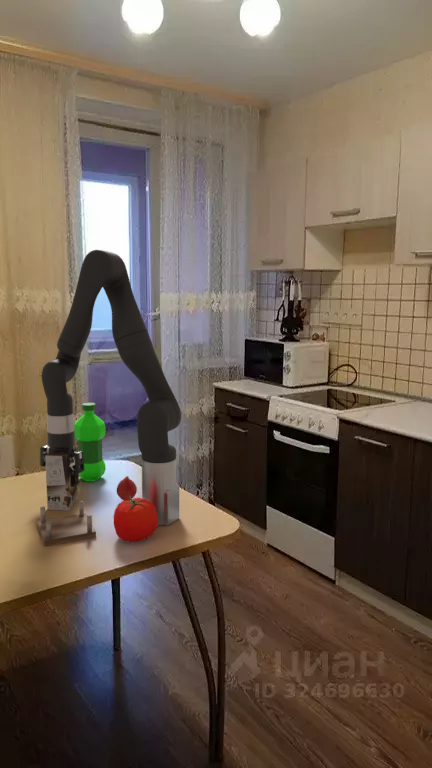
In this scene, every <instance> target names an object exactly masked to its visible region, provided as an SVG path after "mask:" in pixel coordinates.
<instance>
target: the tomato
mask: <svg viewBox="0 0 432 768" xmlns="http://www.w3.org/2000/svg"><path fill="white" fill-rule="evenodd" d="M129 497H130V496H129ZM113 512H114V513H113V526H114V530H115V533H116V535H117V537H118V538H119V539H120V540H122V542H127V543H138V542H143V541H145V540H148V539H149V538H150V537H152V536H153V534H154V533H155V532H156V530H157V528H158V526H159V525H158V516H157V513H156V508H155V506H154V505H153V504H152V503H151V502H149V501H148V500H146V499H142V498H141V497H133V498H131V497H130V500H128V501H124V500H121V502H119V503H118V505H117V506H116V508H115V509H114V511H113Z"/></svg>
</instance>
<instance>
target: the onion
mask: <svg viewBox="0 0 432 768" xmlns="http://www.w3.org/2000/svg"><path fill="white" fill-rule="evenodd" d="M137 491H138V487H137V485H136V483H135V482H134V481H133V480H132V479H130V478H129V476H128V475H127V476H125V477H124V478H123V479H121V480H120V481H119V483H118V484H117V487H116V494H117V496H118V498H119V499H121V501H128V500H130V497H131V498H132V499H133V498H135V496H136V494H137ZM129 496H130V497H129Z"/></svg>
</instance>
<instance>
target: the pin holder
mask: <svg viewBox="0 0 432 768" xmlns="http://www.w3.org/2000/svg"><path fill="white" fill-rule="evenodd" d="M84 507H85V506H84V501H83V500H79V501H78V512H79V513H78V514H73V515H66V516H65V515H64V516H60V517H52V518H46V506H41V507H40V520H37V528H38V531H39V533H40V536H41V539H42V542H43V545H44V547H46V546H47V547H48V546H52V545H59V544H65V543H66V544H67V543H70V542H76V541H82V540H83V541H84V540H87V539H94V538H97V531H96V529H95V527H94V526H93V517H92V516H93V515H92V514H86V513H85V509H84Z"/></svg>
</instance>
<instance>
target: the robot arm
mask: <svg viewBox="0 0 432 768" xmlns="http://www.w3.org/2000/svg"><path fill="white" fill-rule="evenodd" d="M78 275H79V276H78V281H77V284H76V288H75V292H74V296H73V300H72V303H71V307H70V310H69V312H68V316H67V319H66V321H65V323H64V325H63V328H62V330H61V332H60V334H59V338H58V339H57V344H56V347H57V350H58V352H57V355H56V357H55V359H53V360H50V361H48V362H46V363H45V364H44V365H43V367H42V370H41V382H42V386H43V391H44V394H45V398H46V409H47V410H46V413H47V417H46V433H47V434H46V435H47V438H46V439H47V444H46V445H43V446H40V448H39V449H40V455H39V457H40V459H39V461H40V462H39V463H40V467H44V469H45V470H46V456H45V455H47V454H48V453H49V452H51V451H55V452H64V453H68V454H69V455H70V458H71V457H72V458H73V463H71V464H70V466H69V467H70V473H71V487H75V486H77V485H79V482H80V477H79V473H81V472H83V471H84V470H85V468H84V455H83V451H80V452H78V451H77V452H75V451H74V448H73V447H75V443H76V438H75V428H74V424H75V418H74V401H73V396H72V394H71V393H69V392H68V388H67V383H68V382H70V381H72V380H73V378H75V376H76V373H77V371H78V368H79V365H80V364H79V363H80V361H81V354H82V352H83V350H84V347H85V345H86V343H87V341H88V338H89V336H90V334H91V330H92V325H93V315H94V309H95V304H96V300H97V298H98V296H99V294H100V292H101V290H102V288H103V290H104V292H105V294H106V297H107V300H108V302H109V305H110V310H111V331H112V332H111V334H112V338H113V341H114V344H115V347H116V350H117V352H118V355H119V357H120V359H121V361H122V362H123V364H124V365H125V366H126V368H128V370H129V371H130V372H131V373H132V374H133V375H134V376H135V377H136V378H137V379H138V381H139V382H140V383H141V385H142V387H143V389H144V391H145V393H146V396H147V398H148V401H147V402H144V403H143V404H142V405H141V406H140V407H139V409H138V412H137V416H136V421H137V422H136V427H137V428H136V429H137V442H138V443H137V445H138V448H139V451H140V453H141V454H140V455H141V497H142V499H146V500H148V501H149V502H151V503H152V504H153V505H154V506H155V508H156V513H157V516H158V525H157V526H167V527H168V526H170V525H171V524H173V523H174V522H176V521H177V520H178V519H180V485H179V484H177V449H176V447H175V446H174V445H173V444H172V445H171V444H170V443H169V433H168V432H170V431H173V430H175V429H177V427H179V425H180V423H181V420H182V411H181V407H180V406H179V403H178V400H177V399H176V397H175V394H174V393H173V390H172V388H171V387H170V385H169V383H168V380H167V378H166V376H165V374H164V371H163V368H162V366H161V363H160V360H159V359H158V356H157V352H156V351H155V348H154V345H153V342H152V339H151V336H150V334H149V331H148V328H147V326H146V324H145V322H144V319H143V317H142V314H141V310H140V308H139V305H138V303H137V301H136V298H135V295H134V292H133V288H132V286H131V281H130V279H129V278H130V277H129V274H128V270H127V266H126V264H125V261H124V260H123V259H122V257H120V255H119V254H117V253H114V252H112V251H108V250H105V249H99V248H98V249H93V250H91V251H89V252H88V253H87V254H86V255H85V256H84V259H83V261H82V263H81V268H80V271H79V274H78ZM72 467H73V468H74V469H73V468H72Z"/></svg>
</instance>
